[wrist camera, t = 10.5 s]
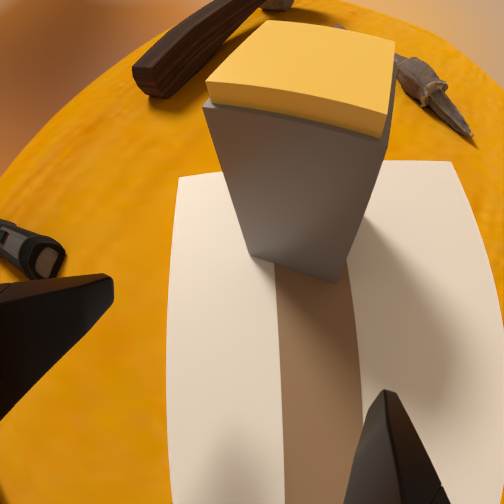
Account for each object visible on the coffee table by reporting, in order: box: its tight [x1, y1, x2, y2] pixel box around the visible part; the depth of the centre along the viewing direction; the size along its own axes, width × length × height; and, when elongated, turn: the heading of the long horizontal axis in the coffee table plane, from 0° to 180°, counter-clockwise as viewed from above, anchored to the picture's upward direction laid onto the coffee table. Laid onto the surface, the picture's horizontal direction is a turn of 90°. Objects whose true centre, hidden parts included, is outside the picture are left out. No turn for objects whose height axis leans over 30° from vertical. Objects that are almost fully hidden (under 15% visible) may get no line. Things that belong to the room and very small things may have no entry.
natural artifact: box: [332, 24, 474, 137], centre depth 23 cm, size 4×23×4 cm
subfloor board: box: [166, 161, 504, 504], centre depth 14 cm, size 27×20×1 cm
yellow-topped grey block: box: [202, 20, 398, 284], centre depth 12 cm, size 5×5×11 cm
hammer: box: [132, 0, 294, 98], centre depth 27 cm, size 5×11×30 cm
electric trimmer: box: [0, 219, 66, 281], centre depth 20 cm, size 4×16×3 cm, turn 71°
